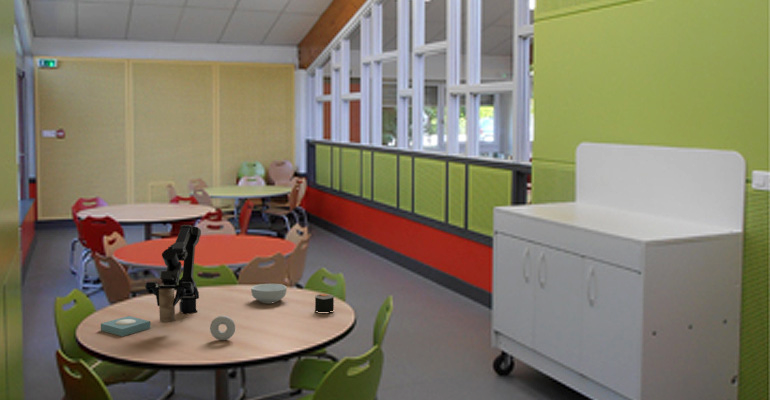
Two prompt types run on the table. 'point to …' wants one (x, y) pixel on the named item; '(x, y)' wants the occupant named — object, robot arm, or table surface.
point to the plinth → (125, 326)
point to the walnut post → (166, 305)
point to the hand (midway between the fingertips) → (166, 305)
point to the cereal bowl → (268, 292)
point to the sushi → (324, 302)
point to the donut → (226, 321)
